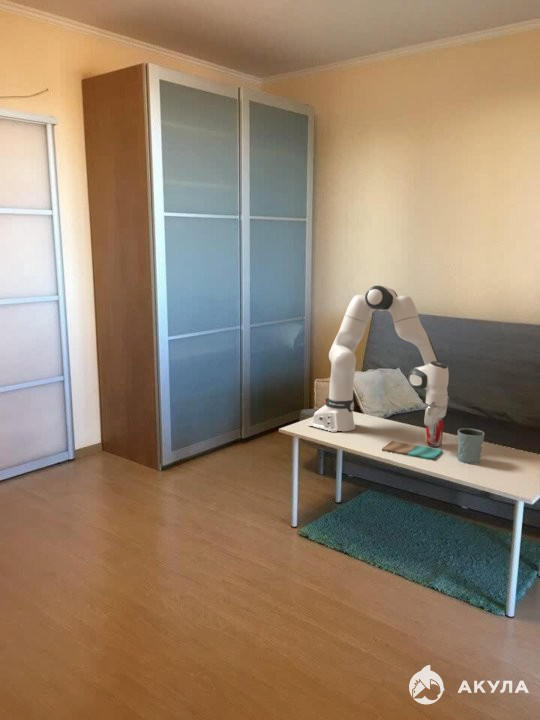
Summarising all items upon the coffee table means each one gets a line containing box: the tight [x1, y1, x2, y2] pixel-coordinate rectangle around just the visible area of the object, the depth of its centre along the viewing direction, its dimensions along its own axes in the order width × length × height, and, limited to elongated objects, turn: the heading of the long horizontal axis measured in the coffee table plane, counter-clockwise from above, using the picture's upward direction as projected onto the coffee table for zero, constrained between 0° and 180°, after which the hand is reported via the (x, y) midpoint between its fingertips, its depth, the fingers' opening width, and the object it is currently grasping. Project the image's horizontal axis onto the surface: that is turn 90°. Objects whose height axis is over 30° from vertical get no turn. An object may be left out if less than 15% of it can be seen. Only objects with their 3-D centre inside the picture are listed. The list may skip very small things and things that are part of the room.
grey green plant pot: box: [457, 427, 485, 465], centre depth 244 cm, size 10×10×12 cm
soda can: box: [424, 418, 444, 448], centre depth 262 cm, size 7×7×12 cm
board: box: [381, 440, 443, 462], centre depth 255 cm, size 22×12×1 cm, turn 59°
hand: (434, 431), depth 262 cm, fingers closed on soda can, 7 cm apart
